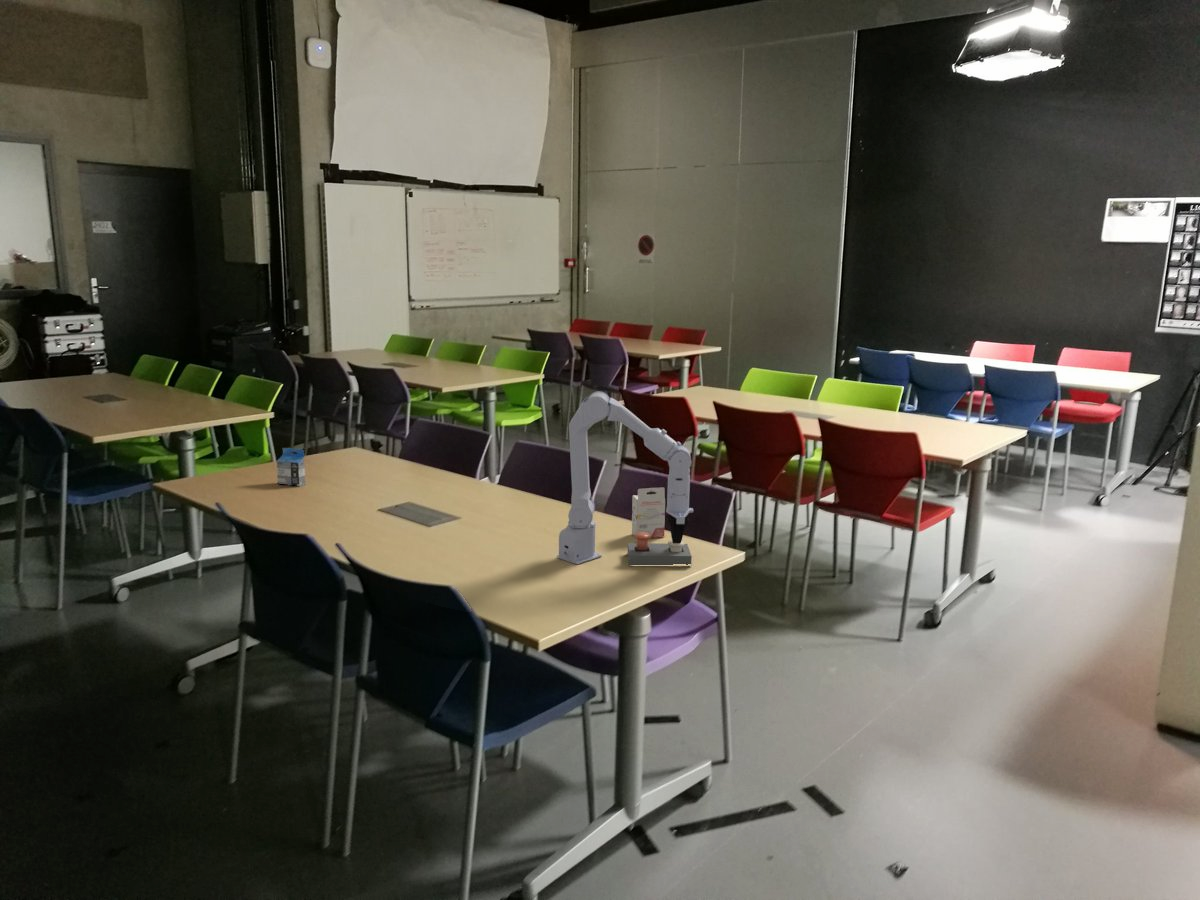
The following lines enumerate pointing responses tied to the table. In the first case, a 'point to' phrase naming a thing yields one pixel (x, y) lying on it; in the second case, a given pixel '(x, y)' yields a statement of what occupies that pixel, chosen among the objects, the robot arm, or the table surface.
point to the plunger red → (642, 540)
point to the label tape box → (291, 467)
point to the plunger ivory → (676, 546)
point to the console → (658, 555)
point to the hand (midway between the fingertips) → (676, 542)
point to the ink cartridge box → (649, 512)
